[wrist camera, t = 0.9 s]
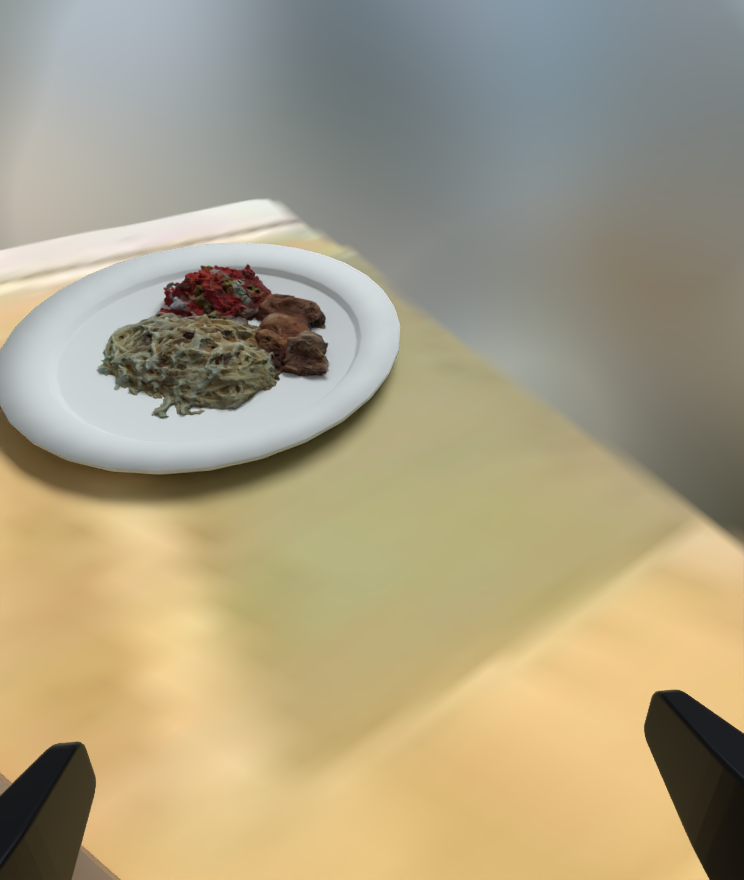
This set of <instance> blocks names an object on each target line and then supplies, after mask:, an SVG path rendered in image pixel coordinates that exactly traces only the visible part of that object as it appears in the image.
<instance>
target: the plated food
mask: <svg viewBox="0 0 744 880" xmlns="http://www.w3.org/2000/svg"><path fill="white" fill-rule="evenodd" d="M399 337H400V324H399V320H398V317H397V314H396V310H395V307H394V305H393V304H392V302H391V301H390V299H389V298H388V296H387V295H386V293H385V292H384V291H383V289H382V288H380V287H379V286H378V285H377V284H376V283H375V282H374V281H372V280H371V279H370V278H369V277H368V276H367V275H365V274H363V273H362V272H360V271H358V270H357V269H355V268H353V267H351V266H350V265H348V264H346V263H344V262H341V261H338V260H336V259H333V258H331V257H328V256H326V255H323V254H319V253H315V252H311V251H307V250H303V249H299V248H294V247H287V246H279V245H272V244H257V243H221V244H205V245H197V246H189V247H181V248H175V249H170V250H165V251H161V252H156V253H151V254H147V255H143V256H140V257H137V258H133V259H130V260H127V261H123V262H120V263H117V264H114V265H112V266H109V267H107V268H104V269H102V270H99V271H97V272H94V273H92V274H89V275H87V276H85V277H83V278H82V279H80V280H78V281H76V282H74V283H72V284H70V285H68V286H67V287H65V288H63V289H61V290H59V291H58V292H56V293H55V294H54V295H52V296H51V297H49V298H48V299H47V300H45V301H44V302H42V303H41V304H40V305H38V306H37V307H35V308H34V309H33V310H32V311H31V312H30V313H29V314H28V315H27V316H26V317H25V318H24V319H23V320H22V321H21V322H20V323H19V324H18V325H17V326H16V327H15V328H14V330H13V331H12V333H11V334H10V336H9V338H8V339H7V341H6V342H5V344H4V345H3V347H2V348H1V350H0V406H1V408H2V410H3V412H4V414H5V415H6V417H7V419H8V421H9V422H10V424H11V425H12V426H13V427H14V428H16V429H17V430H18V431H19V432H20V433H21V434H22V435H24V436H25V437H26V438H27V439H28V440H29V441H30V442H31V443H33V444H34V445H35V446H38V447H40V448H42V449H44V450H46V451H48V452H50V453H52V454H54V455H56V456H58V457H60V458H63V459H65V460H67V461H70V462H74V463H78V464H82V465H86V466H90V467H95V468H99V469H103V470H107V471H112V472H127V473H143V474H158V475H162V474H174V473H186V472H198V471H210V470H215V469H220V468H224V467H229V466H233V465H238V464H242V463H247V462H251V461H256V460H260V459H263V458H266V457H269V456H271V455H274V454H277V453H279V452H282V451H285V450H287V449H290V448H293V447H295V446H298V445H300V444H303V443H306V442H308V441H309V440H311V439H313V438H315V437H316V436H318V435H320V434H322V433H324V432H325V431H327V430H329V429H331V428H332V427H334V426H336V425H338V424H340V423H341V422H343V421H344V420H345V419H347V418H348V417H349V416H350V415H351V414H353V413H354V412H355V411H356V410H358V409H359V408H360V407H361V406H362V405H364V404H365V403H366V402H367V401H368V400H370V399H371V398H372V396H373V395H374V394H375V392H376V391H377V390H378V389H379V387H380V386H381V385H382V383H383V382H384V381H385V380H386V378H387V377H388V376H389V374H390V371H391V369H392V367H393V364H394V362H395V359H396V357H397V354H398V352H399Z"/></svg>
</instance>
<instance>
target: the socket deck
mask: <svg viewBox="0 0 744 880" xmlns="http://www.w3.org/2000/svg"><path fill="white" fill-rule="evenodd" d="M11 784H12V783H11V782H10V781H9V780H8V779H6V778H5V777H4V776H3V775H2V774H1V773H0V795H1V794H2V793H3V792H4V791H5V790H6V789H7V788H8V787H9V786H10V785H11ZM72 880H120V879H119V878H118V877H117V876H116V875H114V874H113V873H112V872H111V871H110V870H109V869H108V868H107V867H105V866H104V865H103V864H102V863H101V862H100V861H99V860H98V859H96V858H95V857H94V856H93V855H92V854H91V853H90V852H89V851H87V850H86V849H85V848H84V847H83V846H82V845H81V847H80V851H79V855H78V858H77V862H76V866H75V870H74V874H73V877H72Z"/></svg>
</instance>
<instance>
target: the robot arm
mask: <svg viewBox="0 0 744 880" xmlns="http://www.w3.org/2000/svg"><path fill="white" fill-rule="evenodd" d="M644 733H645V737H646V741H647V743H648V746H649V748H650V750H651V753H652V755H653V757H654V760H655V762H656V764H657V767H658V769H659V771H660V774H661V776H662V778H663V781H664V783H665V785H666V788H667V790H668V792H669V794H670V797H671V799H672V801H673V804H674V806H675V808H676V811H677V813H678V815H679V818H680V820H681V822H682V825H683V827H684V829H685V831H686V834H687V836H688V838H689V840H690V842H691V844H692V847H693V849H694V851H695V853H696V855H697V856H698V858H699V860H700V862H701V864H702V866H703V868H704V870H705V872H706V874H707V876H708V877H709V879H710V880H744V733H742V732H741V731H739V730H738V729H736V728H735V727H734V726H732V725H731V724H729V723H728V722H726V721H725V720H724V719H722V718H721V717H719V716H718V715H716V714H715V713H714V712H712V711H711V710H709V709H708V708H706V707H705V706H704V705H702V704H701V703H699V702H698V701H696V700H695V699H694V698H692V697H691V696H689V695H688V694H686V693H685V692H683V691H680V690H665V691H657V692H655V693H654V694H653V696H652V698H651V702H650V706H649V709H648V713H647V717H646V720H645V724H644ZM95 788H96V778H95V774H94V771H93V768H92V765H91V762H90V759H89V756H88V753H87V750H86V747H85V745H84V744H82V743H81V742H69V743H58V744H55V745H53V746H51V747H50V748H48V749H47V750H46V751H45V752H44V753H43V754H42V755H41V756H40V757H39V758H38V759H37V760H36V761H35V762H34V763H33V764H32V765H31V766H30V767H29V768H28V769H27V770H25V771H24V772H23V773H22V774H21V775H20V776H19V777H18V778H17V779H16V780H15V781H14V782H13V783H12V784H11V785H10V786H9V787H8V788H7V789H6V790H5V791H4V792H3V793H2V794H1V795H0V880H72V877H73V874H74V870H75V866H76V862H77V858H78V855H79V851H80V847H81V843H82V840H83V836H84V832H85V828H86V824H87V821H88V817H89V813H90V809H91V805H92V802H93V798H94V794H95Z"/></svg>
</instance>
